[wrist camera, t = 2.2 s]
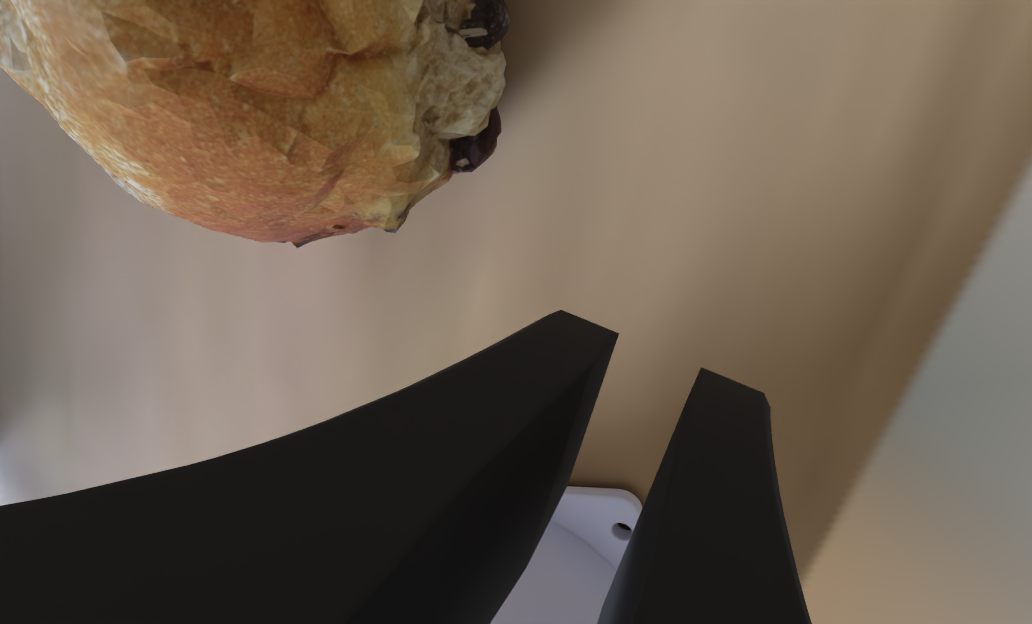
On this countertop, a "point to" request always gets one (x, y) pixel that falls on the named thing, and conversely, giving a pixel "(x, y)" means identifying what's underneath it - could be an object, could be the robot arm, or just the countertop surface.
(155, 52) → the bread roll
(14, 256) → the countertop surface
